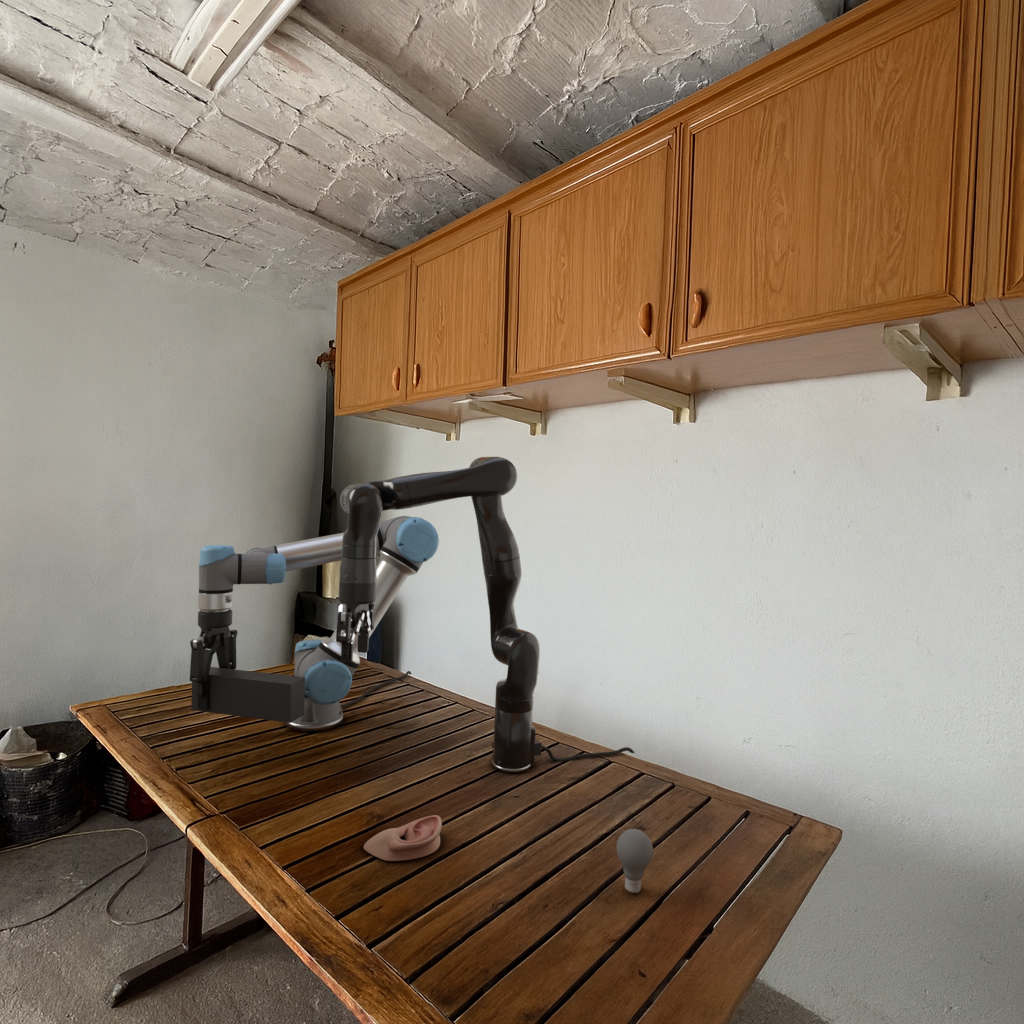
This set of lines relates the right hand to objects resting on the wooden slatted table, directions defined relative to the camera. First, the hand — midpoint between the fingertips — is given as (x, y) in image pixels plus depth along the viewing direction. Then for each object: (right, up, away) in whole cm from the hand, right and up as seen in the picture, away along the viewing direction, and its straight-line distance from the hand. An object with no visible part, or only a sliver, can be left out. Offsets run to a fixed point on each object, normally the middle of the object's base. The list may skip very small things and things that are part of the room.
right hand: (355, 656), depth 132 cm
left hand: (-40, -16, +21) cm, 48 cm away
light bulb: (+53, -33, -26) cm, 68 cm away
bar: (-30, -18, +19) cm, 40 cm away
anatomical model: (+13, -31, -15) cm, 37 cm away
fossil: (-33, -27, +86) cm, 96 cm away
